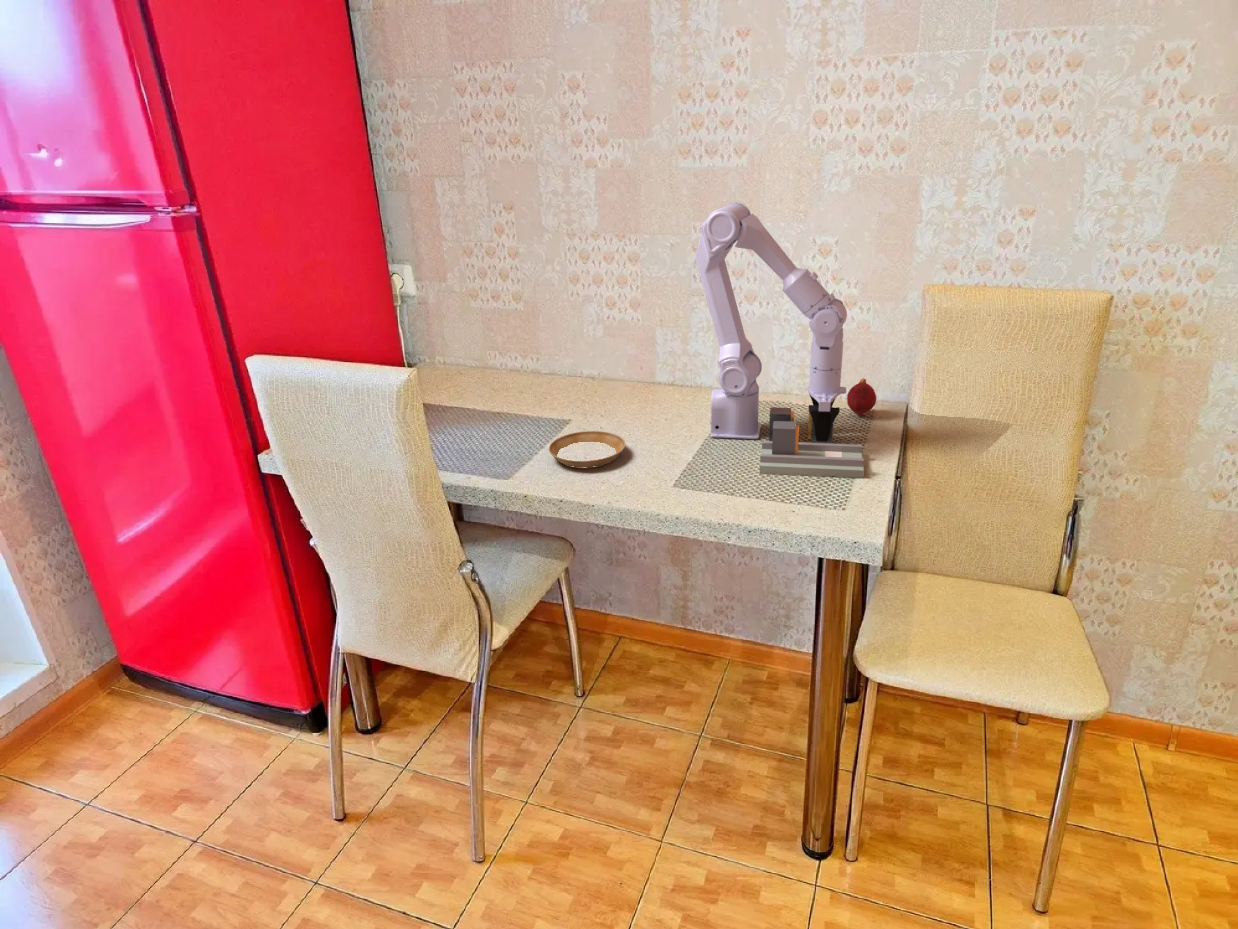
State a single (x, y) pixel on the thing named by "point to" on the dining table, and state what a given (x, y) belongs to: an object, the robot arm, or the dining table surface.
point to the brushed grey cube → (812, 432)
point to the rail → (808, 455)
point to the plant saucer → (587, 436)
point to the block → (779, 417)
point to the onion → (861, 398)
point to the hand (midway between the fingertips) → (821, 433)
